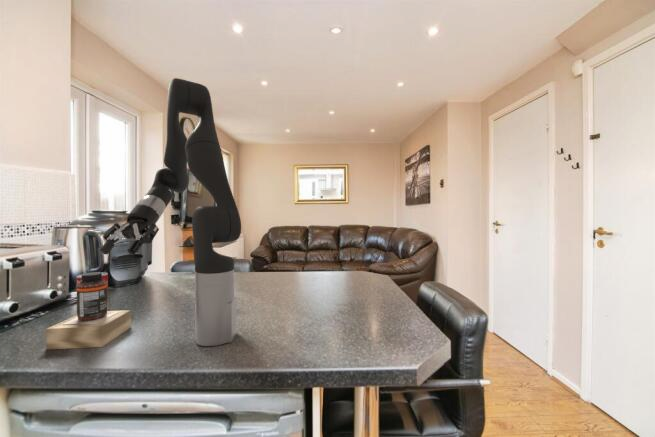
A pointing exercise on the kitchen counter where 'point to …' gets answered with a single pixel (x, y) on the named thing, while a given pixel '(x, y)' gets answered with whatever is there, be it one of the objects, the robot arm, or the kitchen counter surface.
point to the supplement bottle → (91, 297)
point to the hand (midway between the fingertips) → (116, 252)
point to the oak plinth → (88, 331)
